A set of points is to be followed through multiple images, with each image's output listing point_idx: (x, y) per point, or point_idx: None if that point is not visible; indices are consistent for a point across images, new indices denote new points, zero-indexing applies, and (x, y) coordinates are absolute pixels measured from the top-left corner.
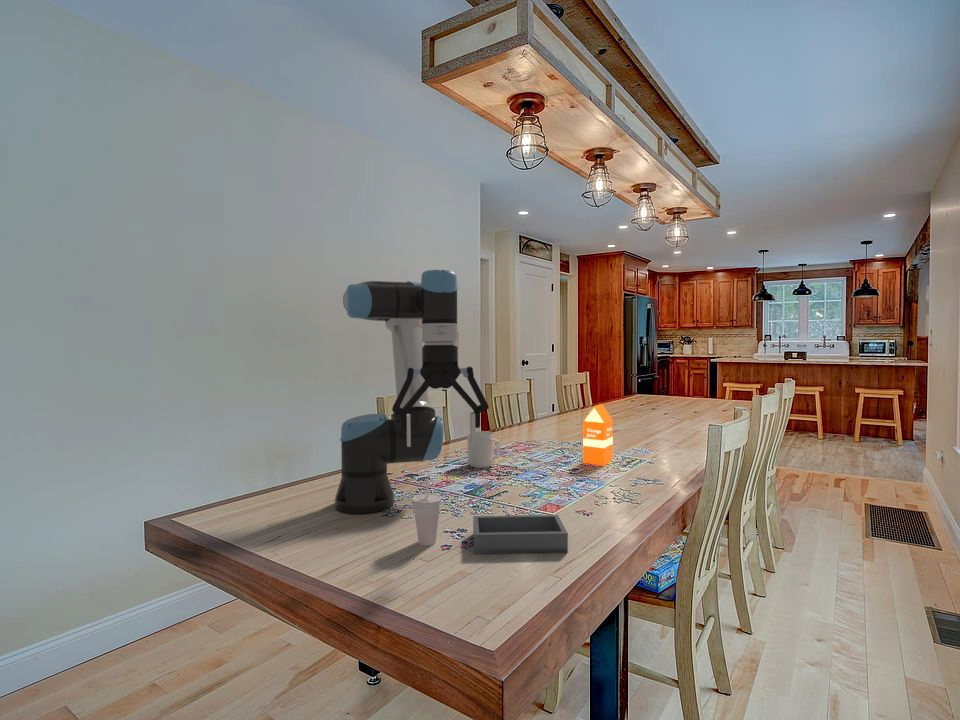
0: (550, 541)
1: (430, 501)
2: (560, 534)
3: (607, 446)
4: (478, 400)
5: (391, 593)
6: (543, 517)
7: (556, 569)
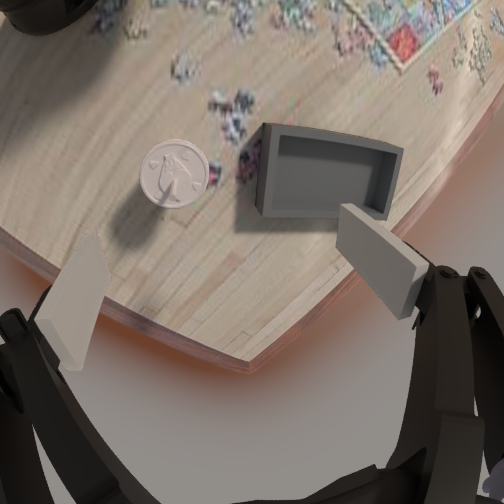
0: None
1: (183, 198)
2: (378, 219)
3: None
4: (482, 302)
5: (153, 301)
6: (383, 150)
7: None
